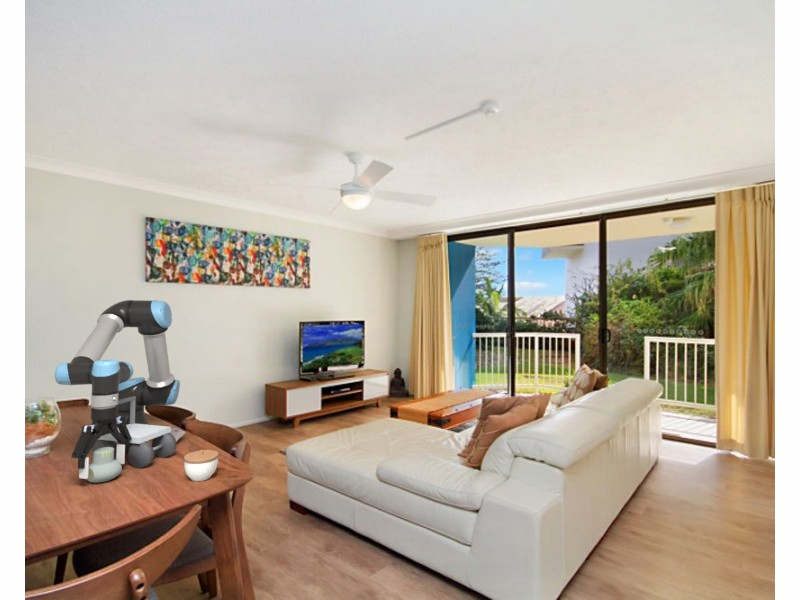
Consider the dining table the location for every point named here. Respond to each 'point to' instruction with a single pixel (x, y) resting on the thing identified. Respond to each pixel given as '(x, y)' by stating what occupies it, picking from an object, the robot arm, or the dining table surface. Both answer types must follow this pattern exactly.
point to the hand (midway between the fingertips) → (102, 470)
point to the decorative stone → (176, 433)
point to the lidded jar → (201, 464)
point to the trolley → (141, 440)
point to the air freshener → (103, 466)
